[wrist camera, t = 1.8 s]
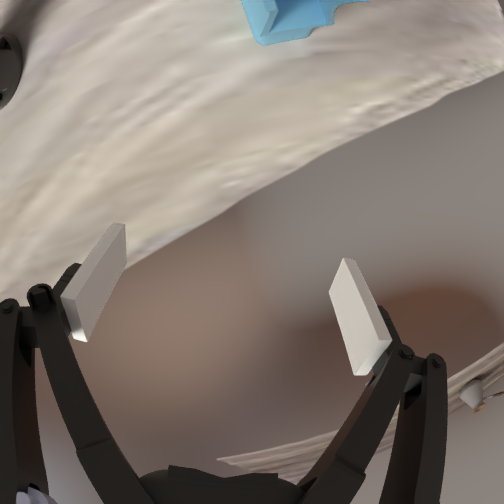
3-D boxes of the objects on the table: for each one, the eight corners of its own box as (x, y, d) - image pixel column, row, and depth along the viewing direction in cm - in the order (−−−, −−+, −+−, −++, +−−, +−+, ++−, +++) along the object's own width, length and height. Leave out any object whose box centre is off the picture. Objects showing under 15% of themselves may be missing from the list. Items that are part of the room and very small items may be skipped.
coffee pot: (459, 395, 89) (471, 422, 77) (455, 389, 85) (467, 418, 72) (498, 366, 81) (511, 392, 69) (497, 358, 77) (511, 386, 64)
